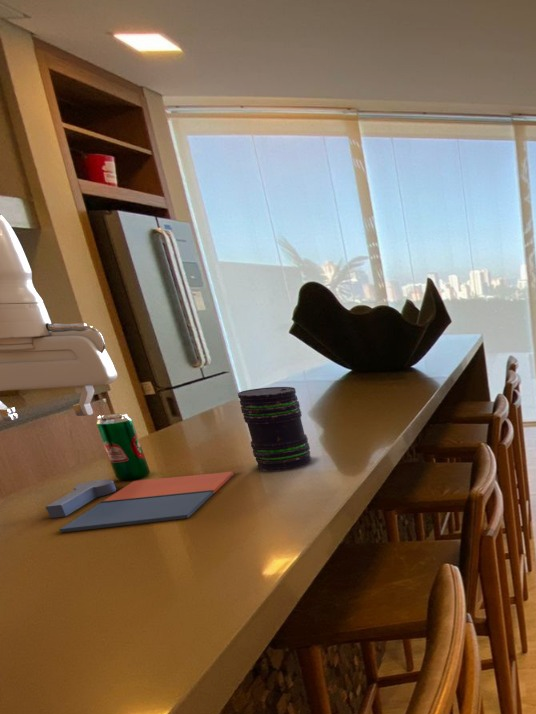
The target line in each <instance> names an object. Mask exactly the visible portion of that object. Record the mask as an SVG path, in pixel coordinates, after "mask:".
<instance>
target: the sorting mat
mask: <svg viewBox="0 0 536 714" xmlns="http://www.w3.org/2000/svg"><path fill="white" fill-rule="evenodd" d="M233 476H235V471H225V472H215V473H205V474H193V475H183V476H173V477H162V478H150V479H139V480H132V481H131V482H130V483H129V484H127V485H125V486H124V487H123V488H121V489H120V490H118V491H115V492H114V493H112V495H110V496H108V497H107V498H105V499H103V500H102V501H100V502H99V503H98V504H96V505H95V506H93V507H91V508H90V509H88V510H87V511H86V512H83V513H82V514H81V515H79V516H78V517H76V518H75V519H73V520H71V521H70V522H69V523H67V524H65V525H64V526H61V528H59V531H60V533H61V534H63V533H70V532H71V533H72V532H79V531H87V530H97V529H106V528H115V527H123V526H132V525H140V524H142V525H143V524H148V523H158V522H167V521H176V520H184V519H189V518H190V517H191V516H192V515H194V514H195V512H196V511H198V510H199V509H200V508H201V506H203V505H204V504H205V503H206V502H207V501H208V500H209V499H210V498H211V497H212V496H213V495H214V494H216V492H218V491H219V490H220V489H221V488H222V487H223V486H224V485H225V484H226V483H227V482H228V481H229V480H230V479H231V478H233Z"/></svg>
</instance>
